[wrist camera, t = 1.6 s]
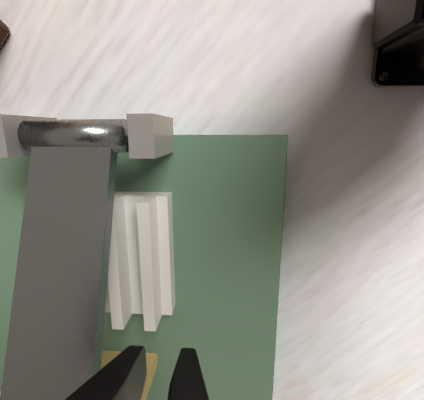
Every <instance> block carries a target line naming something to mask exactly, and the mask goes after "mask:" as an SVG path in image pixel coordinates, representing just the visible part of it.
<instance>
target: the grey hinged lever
mask: <svg viewBox="0 0 424 400" xmlns="http://www.w3.org/2000/svg"><path fill="white" fill-rule="evenodd" d="M18 140H19V142H20V144H21V146H22V147H23V148H24V149H25V150H26V151H28V152H31V156H30V164H29V171H28V179H27V187H26V195H25V203H24V211H23V219H22V227H21V235H20V243H19V251H18V259H17V267H16V275H15V283H14V291H13V299H12V307H11V315H10V323H9V331H8V339H7V347H6V355H5V363H4V371H3V379H2V387H1V395H0V400H65V399H66V398H67V397H68V396H69V395H71V394H72V393H73V392H74V391H75V390H77V389H78V388H79V387H80V386H81V385H83V384H84V383H85V382H86V381H87V380H89V379H90V378H91V377H92V376H93V375H95V374H96V373H97V372H98V371H99V370H100V369H101V358H102V345H103V333H104V320H105V307H106V295H107V282H108V269H109V257H110V244H111V231H112V219H113V206H114V193H115V181H116V168H117V155H118V153H127V152H128V151H129V143H128V128H127V121H126V120H125V119H97V120H23V121H22V122H21V123H20V124H19V127H18Z"/></svg>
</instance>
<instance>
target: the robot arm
mask: <svg viewBox="0 0 424 400" xmlns="http://www.w3.org/2000/svg"><path fill="white" fill-rule="evenodd" d="M372 46H373V48H374V49H375V53H374V61H373V69H372V77H371V79H372V83H373V84H374V85H375V86H377V87H418V86H424V0H377V1H376V10H375V18H374V27H373V35H372ZM381 73H383V74H384V75H385V79H384V81H381V80H380V79H379V76H380V74H381ZM146 374H147V366H146V351H145V347H144V346H143V345H129V346H128V347H127V348H126V349H124V350H123V351H122V352H121V353H120V354H118V355H117V356H116V357H115V358H114V359H112V360H111V361H110V362H109V363H108V364H106V365H105V366H104V367H103V368H102V369H100V370H99V371H98V372H97V373H96V374H95V375H93V376H92V377H91V378H90V379H89V380H87V381H86V382H85V383H84V384H83V385H81V386H80V387H79V388H78V389H77V390H75V391H74V392H73V393H72V394H71V395H69V396H68V397H67V398H66V399H65V400H141V396H142V392H143V388H144V384H145V380H146ZM167 400H209V396H208V393H207V389H206V385H205V381H204V378H203V374H202V370H201V367H200V363H199V359H198V356H197V352H196V349H195V348H181V350H180V353H179V356H178V359H177V362H176V365H175V368H174V371H173V375H172V378H171V381H170V385H169V391H168V399H167Z"/></svg>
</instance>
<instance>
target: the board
mask: <svg viewBox="0 0 424 400" xmlns="http://www.w3.org/2000/svg"><path fill="white" fill-rule="evenodd" d="M23 120H57V119H56V118H43V117H29V116H15V115H1V114H0V391H1V387H2V379H3V371H4V363H5V355H6V347H7V339H8V331H9V323H10V315H11V307H12V299H13V291H14V283H15V275H16V267H17V259H18V251H19V243H20V235H21V227H22V219H23V211H24V203H25V195H26V187H27V179H28V171H29V164H30V156H31V152H28V151H26V150H25V149H24V148H23V147H22V146H21V144H20V142H19V140H18V127H19V124H20V123H21V122H22V121H23ZM127 128H128V143H129V151H128V152H127V153H118V155H117V168H116V181H115V193H114V206H113V219H112V231H111V244H110V257H109V269H108V282H107V295H106V307H105V320H104V333H103V345H102V358H101V369H102V368H103V367H104V366H105V365H106V364H108V363H109V362H110V361H111V360H112V359H114V358H115V357H116V356H117V355H118V354H120V353H121V352H122V351H123V350H124V349H126V348H127V347H128V346H129V345H143V346H144V347H145V351H146V366H147V374H146V380H145V384H144V388H143V392H142V396H141V400H167V399H168V391H169V385H170V381H171V378H172V375H173V371H174V368H175V365H176V362H177V359H178V356H179V353H180V350H181V348H195V349H196V352H197V356H198V359H199V363H200V367H201V370H202V374H203V378H204V381H205V385H206V389H207V393H208V396H209V400H272V392H273V375H274V359H275V342H276V326H277V309H278V292H279V276H280V259H281V242H282V226H283V209H284V193H285V176H286V159H287V143H288V135H173V118H170V117H165V116H161V115H156V114H127Z"/></svg>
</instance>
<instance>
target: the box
mask: <svg viewBox="0 0 424 400" xmlns="http://www.w3.org/2000/svg"><path fill="white" fill-rule="evenodd" d="M9 32H10V30H9V28H8V27H7V26H6V25H5V24H4V23H3V22H2V21H1V20H0V48H1V46H2V45H3V43H4V41H5V39H6V38H7V36H8V34H9Z"/></svg>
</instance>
